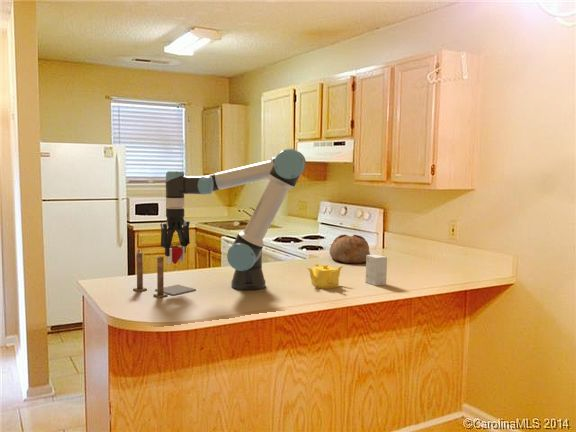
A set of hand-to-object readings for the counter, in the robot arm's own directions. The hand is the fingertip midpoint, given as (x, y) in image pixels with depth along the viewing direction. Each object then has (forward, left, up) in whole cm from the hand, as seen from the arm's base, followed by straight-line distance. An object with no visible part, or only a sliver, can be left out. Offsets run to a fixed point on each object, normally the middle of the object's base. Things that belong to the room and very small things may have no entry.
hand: (175, 262), depth 211 cm
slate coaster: (0, 0, -12) cm, 12 cm away
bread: (-15, -115, -12) cm, 117 cm away
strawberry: (+1, 0, -1) cm, 1 cm away
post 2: (-3, +10, -12) cm, 16 cm away
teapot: (-41, -52, -12) cm, 67 cm away
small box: (-56, -72, -12) cm, 92 cm away
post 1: (+11, +10, -12) cm, 19 cm away
